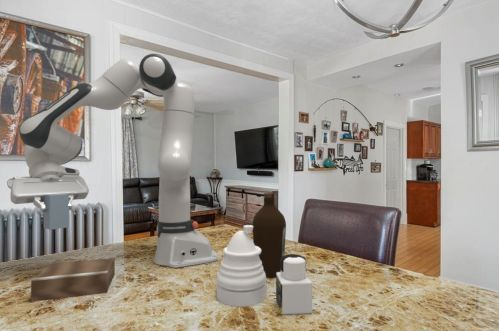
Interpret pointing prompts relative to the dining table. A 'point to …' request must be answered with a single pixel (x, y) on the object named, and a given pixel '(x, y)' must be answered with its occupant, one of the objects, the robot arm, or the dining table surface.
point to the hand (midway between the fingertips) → (57, 209)
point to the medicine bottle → (293, 286)
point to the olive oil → (270, 235)
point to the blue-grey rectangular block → (56, 211)
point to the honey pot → (241, 272)
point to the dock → (73, 279)
